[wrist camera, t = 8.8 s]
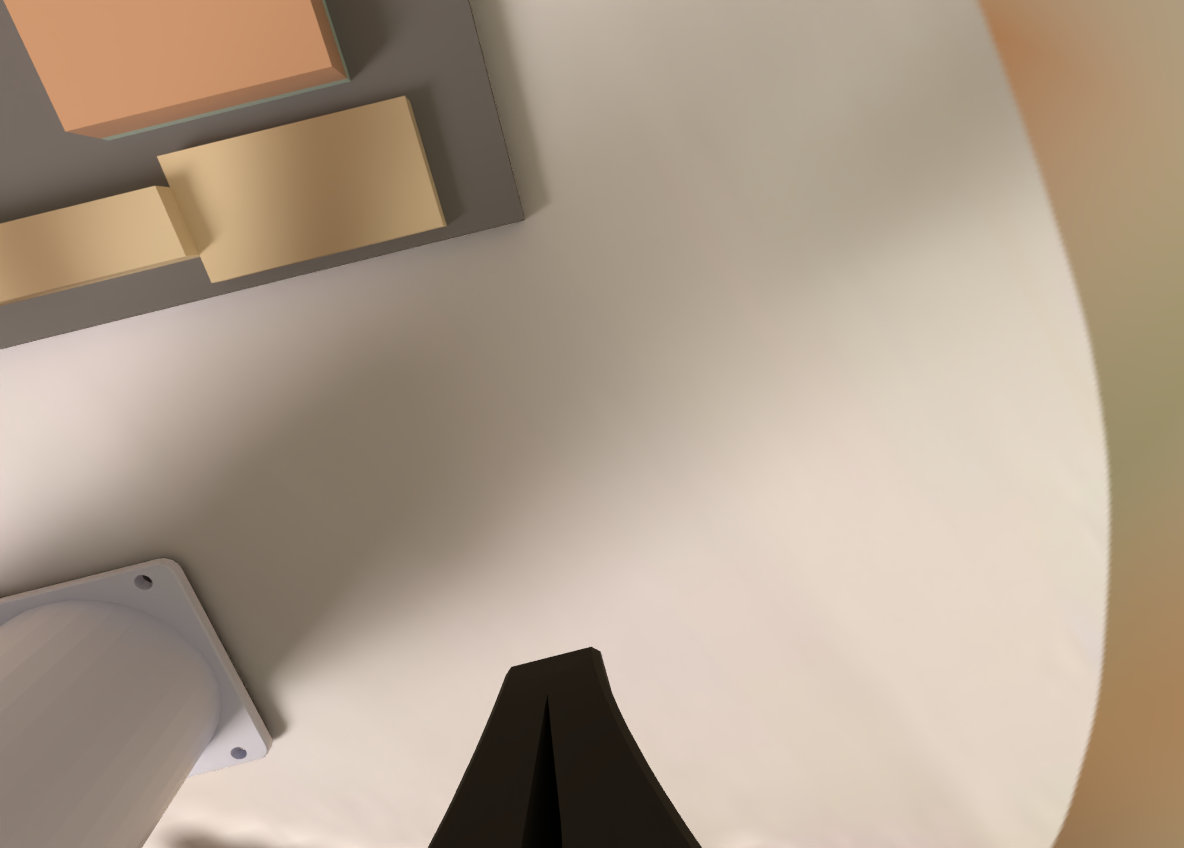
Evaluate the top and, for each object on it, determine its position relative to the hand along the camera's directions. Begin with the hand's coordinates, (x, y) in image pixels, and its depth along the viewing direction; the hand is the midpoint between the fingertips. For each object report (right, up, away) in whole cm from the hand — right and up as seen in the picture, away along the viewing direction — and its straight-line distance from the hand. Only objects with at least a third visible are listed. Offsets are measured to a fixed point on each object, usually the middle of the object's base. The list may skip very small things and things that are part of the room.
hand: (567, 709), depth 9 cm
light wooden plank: (-10, +9, +6) cm, 15 cm away
